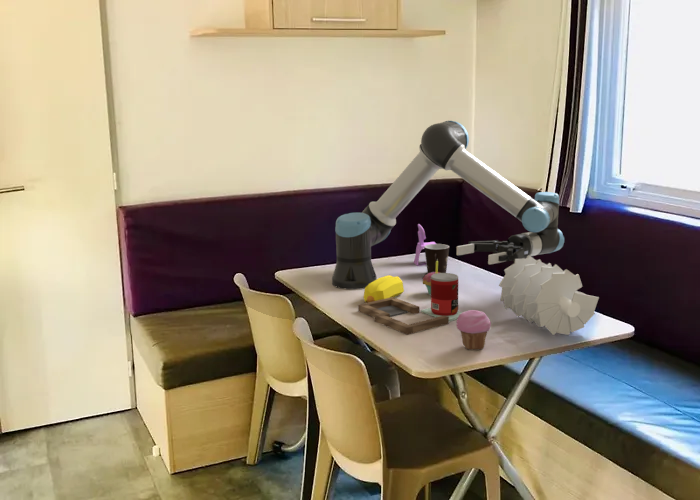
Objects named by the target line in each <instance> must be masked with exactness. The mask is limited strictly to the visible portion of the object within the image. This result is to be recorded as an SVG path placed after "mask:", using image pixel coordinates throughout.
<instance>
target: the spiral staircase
mask: <svg viewBox="0 0 700 500" xmlns="http://www.w3.org/2000/svg"><path fill="white" fill-rule="evenodd" d="M503 271H504V274H505V275H504V276H503V277H502V280H500V283H499V284H498V287H500V288H501V295H500V302H503V304H504V309H505V310H507V309H510V310H511V311H512V312H513V314H515V315H516V317H518V318H519V317H521V316H522V317H523V318H524V319H525V320H526V321H528V322H529V323H530V324H532V323H533V322H534V323H535V325H536V326H537V327H538V328H540V327H541V328H542V327H545V328H546V329H547V330H548V331H549V333H550V334H552V336H554V335H555V334H562V335H566V336H567V335H568V336H569V335H570V334H571V333H574V332H576V331H579V330H581V329H584V328H585V325H586V324H587V323H588V322H589V321H590V320H591V318H592V317H593V316H594V315H595V314H596V313H595V310H596V307H597V304H598V301H599V299H600V297H599V296H594V295H589V294H586V293H584V292H581V291H578V290H580V289H581V288H582V287H584V286H583V283H582V281H581V278H580V275H579V274H578V273H577V274H574V273H573V272H571V271H570V270H568V269H567V268H566V269H564V270H563V269H562V268H561V267H560V266H559V265H558V264H556V263H554V265H553V266H552V263H550V262H548V263H545V262H542V260H541V259H540V258H539V259H535V258H534V257H533V256H529V255H528V256H527V257H525V258H522V259H515V262H513V263H512V264H511V265H510V266H508V267H506V268H505V269H504V270H503Z"/></svg>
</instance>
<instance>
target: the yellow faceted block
mask: <svg viewBox="0 0 700 500" xmlns="http://www.w3.org/2000/svg"><path fill="white" fill-rule="evenodd" d="M404 292H405V289H404V282H403V280H402V279H401V278H400V277H399V276H392V275H390V274H389V275H385V276H381V277H378V278H377V280H375V281H373V282H371V283H370V284H368V285H367V286H366V287H365V288H364V293H363V299H364V303H368V302H373V301H377V300H382V299H386V298H390V297H394V298H397V297H398V296H401V295H402V294H403V293H404Z"/></svg>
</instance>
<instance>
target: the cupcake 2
mask: <svg viewBox="0 0 700 500" xmlns="http://www.w3.org/2000/svg"><path fill="white" fill-rule="evenodd" d="M491 323H492V322H491V321H490V318H489V316H487V314H486V313H485V312H484V311H482V310H477V309H468V310H466V311H463V313H461V314H460V315H459V317H458V318H457V320H456V324H455V325H456V328H457V330H458V331H460V336H461V342H462V344H463V346H464V347H465V349H467V350H478V351H479V350H480V351H481V350H483V349H484V348H485V345H486V339H487V336H488V335H487V334H488V332H489V331H490V329H491V327H492V324H491Z"/></svg>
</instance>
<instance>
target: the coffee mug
mask: <svg viewBox="0 0 700 500" xmlns="http://www.w3.org/2000/svg"><path fill="white" fill-rule="evenodd" d="M424 247H425V249H424V255H425V262H426V272H427V274H428V273H431V272H436V261H438V272H439V273H447V267H448V260H449V253H450V245H448V244H442V243H436V244H429V245H426V246H424ZM437 259H438V260H437Z"/></svg>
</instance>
